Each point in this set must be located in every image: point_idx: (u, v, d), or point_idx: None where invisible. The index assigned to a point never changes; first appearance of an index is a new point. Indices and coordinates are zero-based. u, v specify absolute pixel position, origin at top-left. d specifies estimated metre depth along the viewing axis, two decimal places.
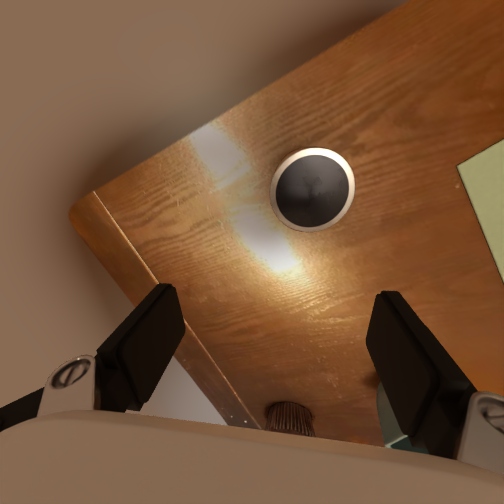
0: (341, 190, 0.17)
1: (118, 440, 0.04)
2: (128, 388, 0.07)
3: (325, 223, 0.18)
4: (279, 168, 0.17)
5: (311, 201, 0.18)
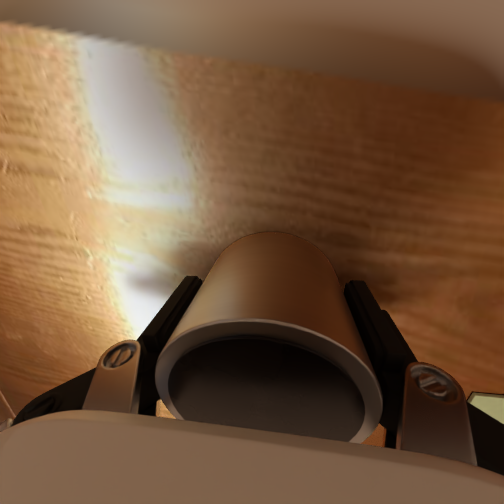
0: (325, 435, 0.07)
1: (118, 440, 0.04)
2: None
3: None
4: (216, 325, 0.05)
5: (252, 414, 0.07)
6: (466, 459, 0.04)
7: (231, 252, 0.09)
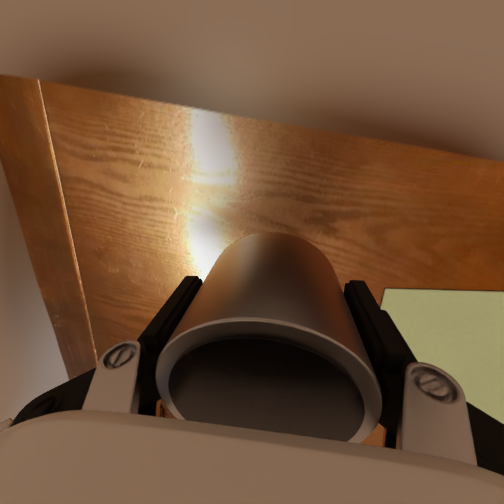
0: (325, 434, 0.07)
1: (118, 440, 0.04)
2: None
3: None
4: (217, 325, 0.05)
5: (252, 414, 0.07)
6: (466, 459, 0.04)
7: (231, 252, 0.09)
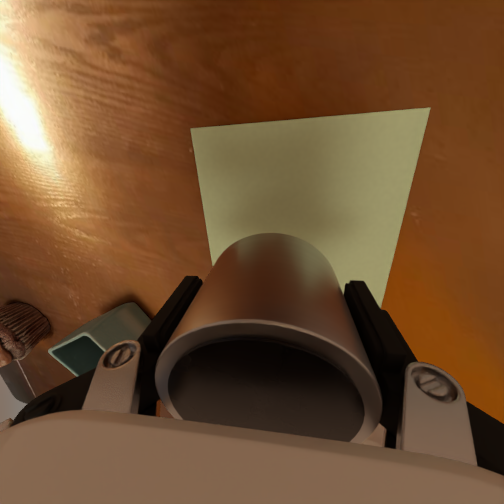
0: (325, 436, 0.07)
1: (118, 440, 0.04)
2: None
3: None
4: (216, 327, 0.05)
5: (252, 415, 0.07)
6: (466, 459, 0.04)
7: (231, 253, 0.09)
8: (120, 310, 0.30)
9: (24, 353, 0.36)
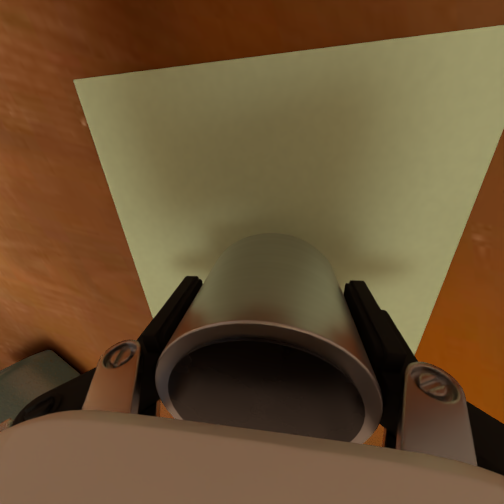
0: (325, 436, 0.07)
1: (118, 440, 0.04)
2: None
3: None
4: (216, 327, 0.05)
5: (252, 416, 0.07)
6: (466, 459, 0.04)
7: (231, 253, 0.09)
8: (14, 371, 0.20)
9: None
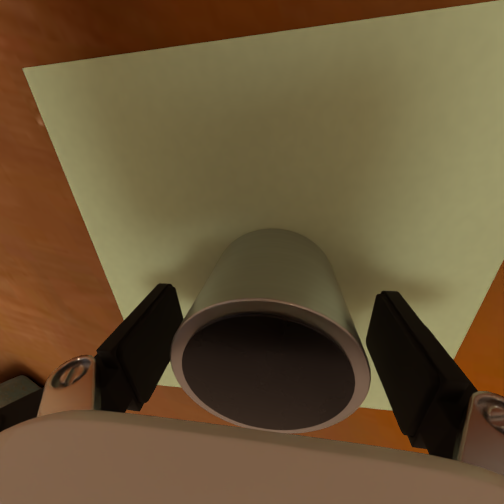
0: (321, 406, 0.08)
1: (118, 440, 0.04)
2: (128, 388, 0.07)
3: (257, 426, 0.09)
4: (226, 305, 0.06)
5: (255, 388, 0.08)
6: None
7: (236, 246, 0.10)
8: None
9: None
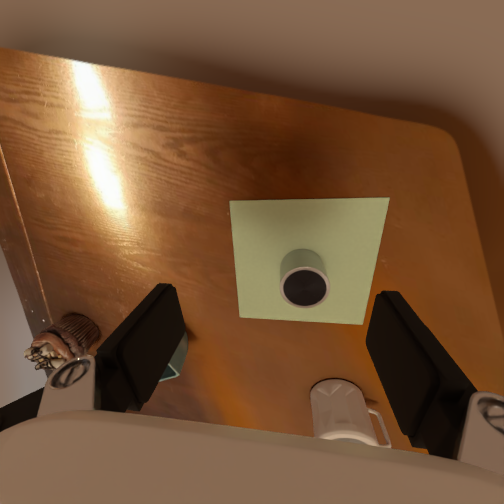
0: (318, 296, 0.30)
1: (118, 440, 0.04)
2: (128, 388, 0.07)
3: (300, 305, 0.31)
4: (298, 268, 0.28)
5: (302, 291, 0.30)
6: None
7: (292, 255, 0.32)
8: None
9: None
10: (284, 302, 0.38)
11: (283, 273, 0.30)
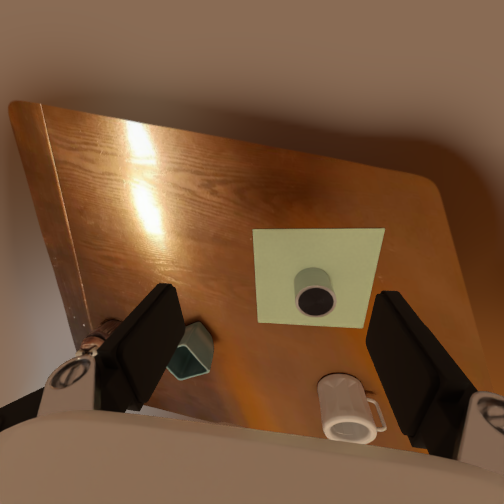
0: (327, 308, 0.37)
1: (118, 440, 0.04)
2: (128, 388, 0.07)
3: (312, 315, 0.38)
4: (310, 286, 0.35)
5: (313, 304, 0.37)
6: None
7: (304, 273, 0.39)
8: (196, 328, 0.47)
9: None
10: (296, 309, 0.45)
11: (298, 289, 0.37)
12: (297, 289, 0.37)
